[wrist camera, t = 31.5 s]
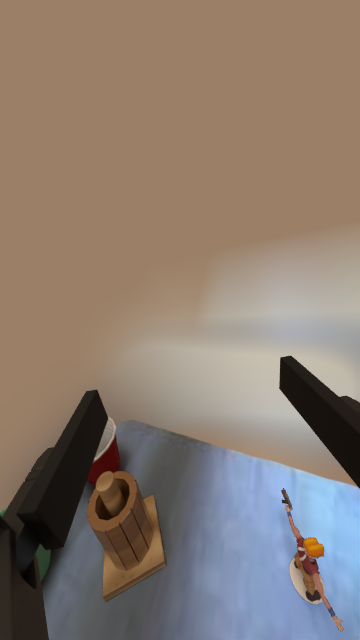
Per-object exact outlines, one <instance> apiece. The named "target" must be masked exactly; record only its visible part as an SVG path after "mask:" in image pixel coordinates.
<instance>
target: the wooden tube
mask: <svg viewBox="0 0 360 640" xmlns="http://www.w3.org/2000/svg"><path fill="white" fill-rule="evenodd" d="M113 475H114V477H115V479H116V481H117V484H118V486H119V488H120V490H121V493H122V495H123V497H124V499H125V501H126V506H125V508H124V509H123V510H122V511H121V512H120V514H119V515H118V516H116V517H114V518H111V516H110V514H109V512H108V510H107V508H106V506H105V504H104V502H103V500H102V499H101V497H100V495H99V493H98V491H97V489H96V488H95V490H94V492H93V494H92V496H91V498H90V500H89V503H88V511H87V520H88V522H89V524H90V526H91V527H92V529H93V531H94V533H95V534H96V536H97V538H98V539H99V541H100V542H101V544H102V546H103V547H104V549H105V551H106V552H107V554H108V556H109V557H110V559H111V561H112V562H113V564H114V565H115V567H116V568H117V569H121V570H124V571H127V570H128V571H129V570H130V569H132V568H134V567H136V566H137V565H139V562H140V563H141V561H142V560H143V558H144V557H145V555H146V554H147V552H148V548H150V544H151V540H152V536H153V533H152V532H153V528H152V521H151V518H150V515H149V513H148V510H147V508H146V505H145V502H144V500H143V497H142V495H141V492H140V490H139V487H138V484H137V482H136V479H135V478H134V477H133V476H132V475H131V474H130V473H129V472H125V471H119V472H118V471H117V472H115V473H113Z"/></svg>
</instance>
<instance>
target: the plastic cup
mask: <svg viewBox="0 0 360 640" xmlns="http://www.w3.org/2000/svg"><path fill="white" fill-rule="evenodd" d="M116 440H117V439H116V426H115V422H114V420H112V419H111V418H110V417H108V421H107V424H106V427H105V430H104V433H103V436H102V438H101V441H100V444H99V447H98V450H97V453H96V455H95V458H94V461H93V464H92V467H91V470H90V473H89V475H88V478H87V481H88V482H89V483H91V484H92V485H93V486H94V487H95V488H96V482H97V480H98V478H99V477H100V476H101V475H102V474H103V473H105V472H107V471H110V472H112V473H115V472H117V471H118V472H119V471H120V462H119V453H118V447H117V442H116Z"/></svg>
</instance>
